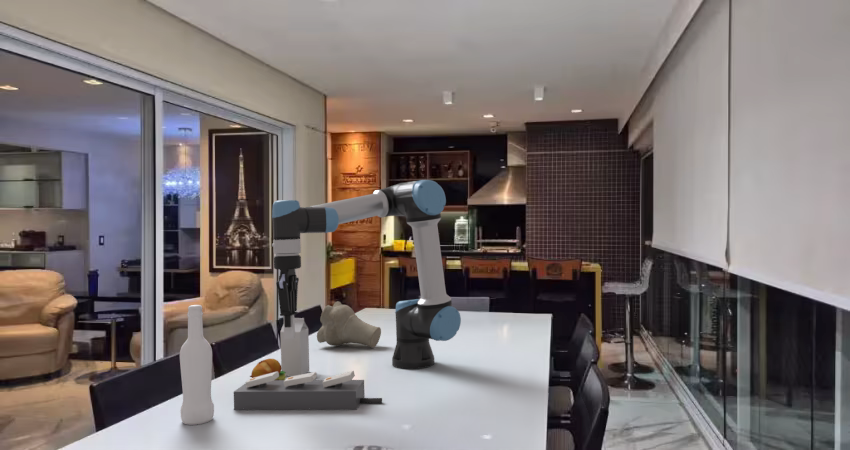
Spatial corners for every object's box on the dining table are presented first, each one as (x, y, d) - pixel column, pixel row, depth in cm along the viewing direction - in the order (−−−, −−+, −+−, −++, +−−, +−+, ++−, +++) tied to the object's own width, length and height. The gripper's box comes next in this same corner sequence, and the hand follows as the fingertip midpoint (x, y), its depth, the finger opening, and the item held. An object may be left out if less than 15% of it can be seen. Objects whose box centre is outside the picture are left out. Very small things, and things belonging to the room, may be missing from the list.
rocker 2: (317, 377, 170) (315, 371, 170) (312, 381, 165) (311, 375, 165) (290, 382, 170) (289, 376, 170) (284, 386, 165) (283, 380, 165)
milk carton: (301, 376, 198) (299, 319, 198) (281, 376, 199) (279, 319, 200) (309, 371, 205) (308, 316, 205) (290, 371, 206) (288, 316, 206)
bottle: (186, 416, 158) (183, 303, 158) (217, 414, 159) (215, 302, 159) (176, 426, 150) (173, 307, 150) (209, 424, 151) (206, 306, 151)
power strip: (385, 397, 171) (384, 376, 171) (378, 409, 159) (377, 388, 159) (250, 397, 175) (250, 377, 175) (234, 409, 163) (233, 388, 163)
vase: (401, 313, 251) (343, 295, 261) (381, 312, 231) (319, 293, 240) (387, 363, 249) (330, 344, 259) (366, 366, 229) (305, 345, 239)
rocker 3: (354, 375, 169) (353, 370, 169) (351, 380, 164) (349, 374, 164) (328, 382, 169) (326, 377, 169) (323, 387, 164) (322, 381, 164)
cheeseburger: (294, 383, 189) (289, 354, 187) (276, 400, 179) (271, 370, 177) (267, 381, 192) (262, 352, 190) (247, 397, 183) (242, 368, 180)
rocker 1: (279, 376, 170) (277, 370, 170) (273, 380, 165) (271, 374, 165) (253, 383, 171) (251, 377, 171) (246, 387, 166) (245, 382, 166)
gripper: (281, 254, 175) (283, 334, 175) (266, 256, 162) (268, 342, 162) (306, 253, 174) (308, 333, 174) (293, 255, 161) (295, 342, 161)
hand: (289, 338), depth 168 cm, fingers closed
